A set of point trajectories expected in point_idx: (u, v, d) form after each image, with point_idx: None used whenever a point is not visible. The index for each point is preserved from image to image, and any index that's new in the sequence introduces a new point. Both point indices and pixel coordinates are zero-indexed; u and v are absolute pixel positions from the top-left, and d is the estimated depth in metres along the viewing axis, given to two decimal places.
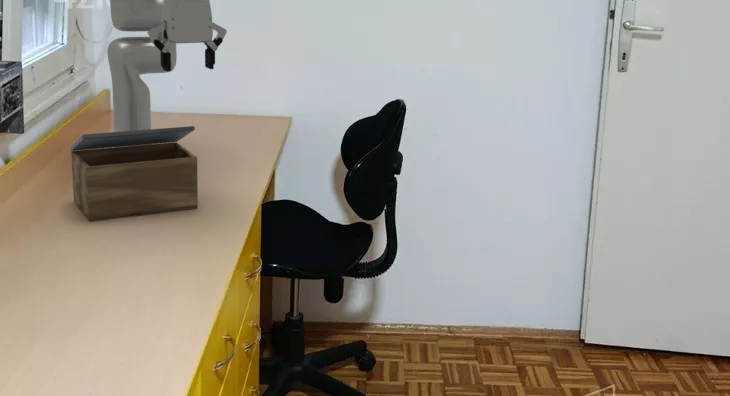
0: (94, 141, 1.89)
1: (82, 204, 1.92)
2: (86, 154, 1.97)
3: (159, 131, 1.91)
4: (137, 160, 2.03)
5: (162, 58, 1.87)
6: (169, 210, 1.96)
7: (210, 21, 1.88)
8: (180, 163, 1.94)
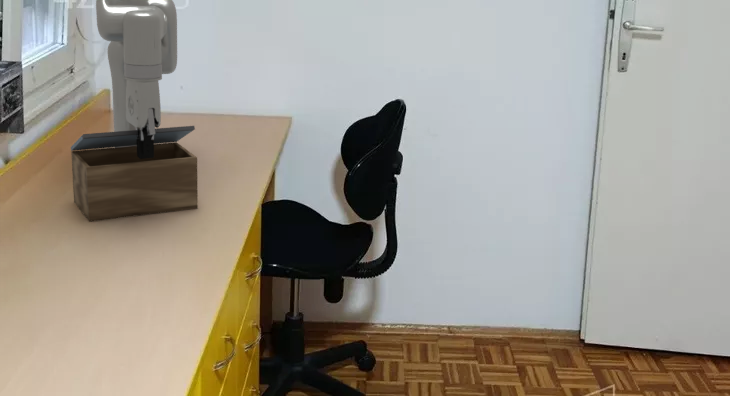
0: (94, 141, 1.89)
1: (82, 204, 1.92)
2: (86, 154, 1.97)
3: (159, 131, 1.91)
4: (137, 160, 2.03)
5: (148, 146, 1.86)
6: (169, 210, 1.96)
7: None
8: (180, 163, 1.94)
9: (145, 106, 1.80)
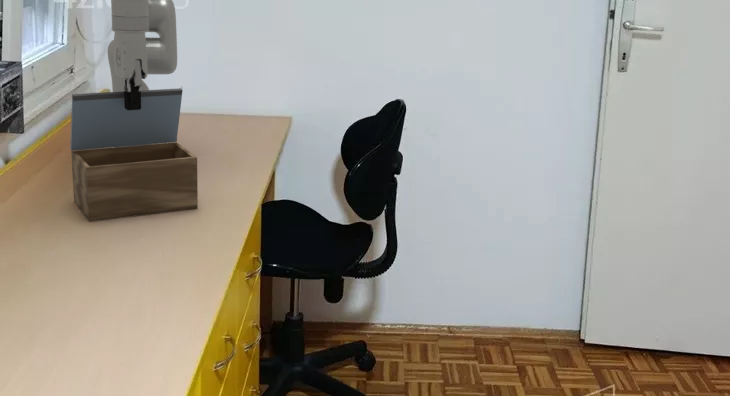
0: (87, 114, 1.92)
1: (82, 204, 1.92)
2: (86, 154, 1.97)
3: (147, 91, 1.95)
4: (137, 160, 2.03)
5: (135, 98, 1.91)
6: (169, 210, 1.96)
7: None
8: (180, 163, 1.94)
9: (132, 57, 1.84)
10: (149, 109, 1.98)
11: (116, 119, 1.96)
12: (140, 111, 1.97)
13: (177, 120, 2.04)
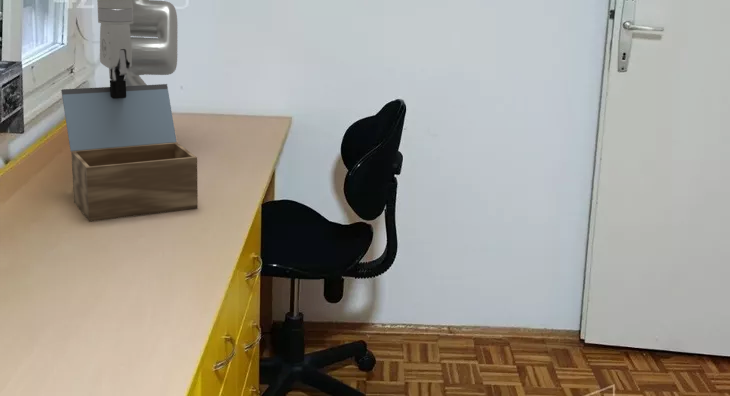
0: (79, 109, 1.98)
1: (82, 204, 1.92)
2: (86, 154, 1.97)
3: (133, 86, 2.05)
4: (137, 160, 2.03)
5: (121, 87, 2.00)
6: (169, 210, 1.96)
7: None
8: (180, 163, 1.94)
9: (117, 47, 1.93)
10: (139, 104, 2.04)
11: (109, 115, 2.01)
12: (131, 106, 2.03)
13: (170, 117, 2.07)
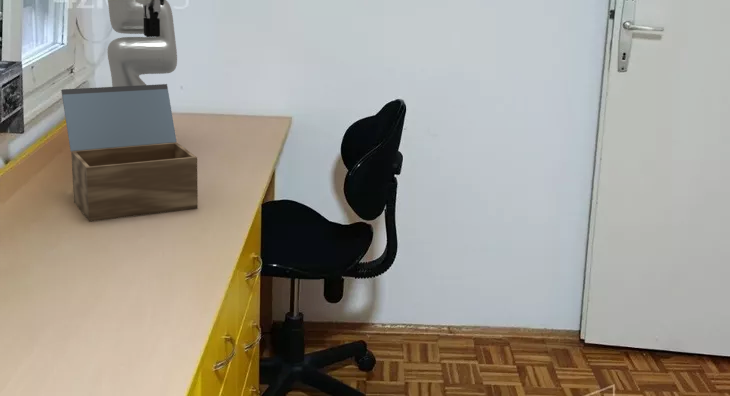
0: (79, 109, 1.98)
1: (82, 204, 1.92)
2: (86, 154, 1.97)
3: (133, 86, 2.05)
4: (137, 160, 2.03)
5: (154, 25, 1.95)
6: (169, 210, 1.96)
7: None
8: (180, 163, 1.94)
9: None
10: (139, 104, 2.04)
11: (109, 115, 2.01)
12: (131, 106, 2.03)
13: (170, 117, 2.07)
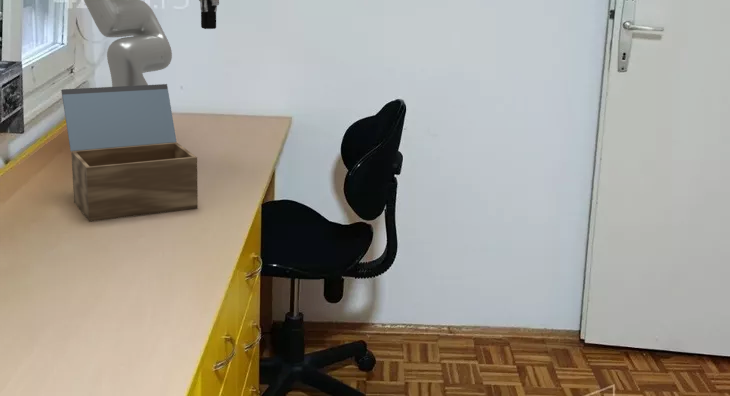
0: (79, 109, 1.98)
1: (82, 204, 1.92)
2: (86, 154, 1.97)
3: (133, 86, 2.05)
4: (137, 160, 2.03)
5: (212, 17, 2.09)
6: (169, 210, 1.96)
7: None
8: (180, 163, 1.94)
9: None
10: (139, 104, 2.04)
11: (109, 115, 2.01)
12: (131, 106, 2.03)
13: (170, 117, 2.07)
